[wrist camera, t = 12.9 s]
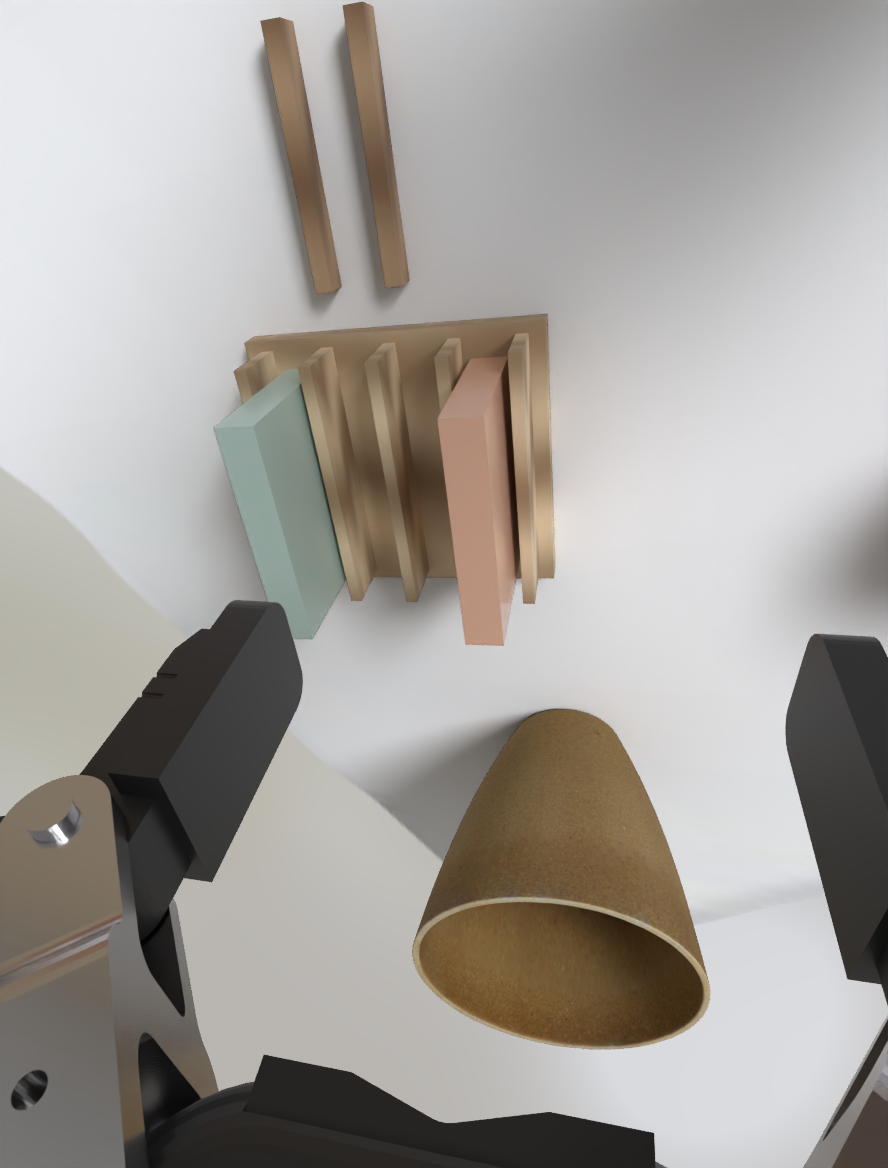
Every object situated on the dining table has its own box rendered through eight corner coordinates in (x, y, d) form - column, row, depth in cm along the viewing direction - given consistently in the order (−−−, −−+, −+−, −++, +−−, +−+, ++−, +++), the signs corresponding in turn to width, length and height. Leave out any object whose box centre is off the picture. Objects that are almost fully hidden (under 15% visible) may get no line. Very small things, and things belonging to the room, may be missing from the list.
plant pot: (427, 756, 51) (366, 974, 38) (536, 629, 42) (506, 856, 29) (593, 843, 53) (589, 1079, 40) (729, 739, 44) (781, 996, 31)
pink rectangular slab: (470, 358, 32) (437, 418, 26) (508, 356, 32) (484, 416, 26) (488, 555, 38) (465, 644, 32) (520, 555, 38) (503, 645, 32)
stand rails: (274, 24, 28) (260, 21, 27) (372, 6, 27) (362, 1, 26) (325, 288, 33) (316, 293, 32) (409, 279, 32) (402, 286, 31)
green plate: (286, 369, 35) (213, 427, 28) (319, 367, 34) (253, 426, 28) (330, 554, 41) (279, 638, 34) (359, 554, 40) (312, 639, 34)
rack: (254, 336, 35) (214, 361, 32) (547, 313, 32) (540, 338, 28) (313, 565, 43) (287, 606, 39) (555, 566, 39) (550, 611, 36)
